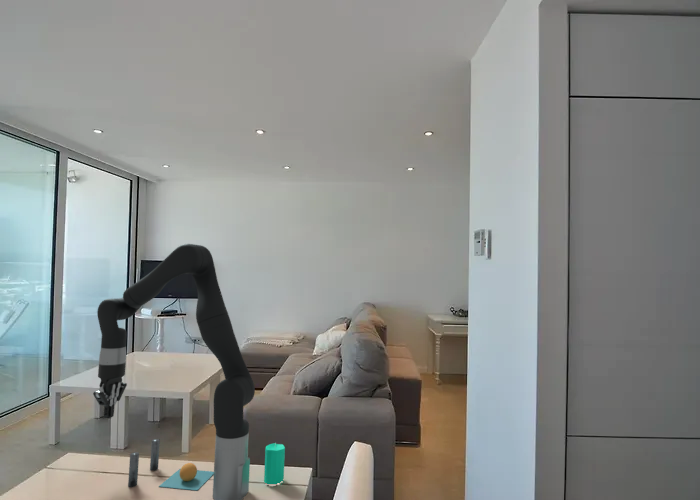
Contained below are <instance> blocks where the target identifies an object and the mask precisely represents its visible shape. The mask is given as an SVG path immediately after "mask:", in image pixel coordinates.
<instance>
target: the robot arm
mask: <svg viewBox="0 0 700 500" xmlns="http://www.w3.org/2000/svg"><path fill="white" fill-rule="evenodd" d="M183 275H191V276H192V277H193V281H194V283H195V286H196V290H197V302H196V307H195V308H196V310H195V319H196V323H197V327H198V330H199V332H200V336H201V339H202V341H203V343H204V344H205V345H206V347H207V348H208V349H209V351H210V352H211V353H212V354H213V355H214V356H215V357H216V359H217V360H218V362H219V364H220V366H221V369H222V372H223V374H224V378H225V379H223V380H221V381H220V382H218V384H217V385H216V387H215V390H214V393H213V424H214V428H215V441H214V442H215V443H214V444H215V446H214V463H213V472H214V474H213V479H212V480H213V481H212V482H213V483H212V499H213V500H243V499H244V498H245V497H246V495H247V493H249V490H250V489H249V488H250V487H249V486H250V469H251V468H250V466H251V458H250V457H248V455H249V434H250V433H249V431H250V423H249V421H248V420H246V419H244V407H245V406H247V405H248V404H250V402H251V401H253V399H254V396H255V391H256V389H255V388H256V387H255V384H254V380H253V377H252V375H251V374H250V371H249V370H248V367H247V364H246V363H245V360H244V358H243V355H242V352H241V349H240V346H239V343H238V339H237V338H236V334H235V331H234V329H233V325H232V321H231V318H230V315H229V311H228V309H227V307H226V304H225V301H224V298H223V294H222V291H221V287H220V286H219V285H220V284H219V281H218V277H217V272H216V268H215V262H214V258H213V256H212V253H211V251H210V250H209V248H207V247H205V246H204V245H201V244H200V245H199V244H194V243H184V244H180V245H178V246H177V247H176V248H175V249H174V250H173V251H172V252H171V253H170V254H169V255H167V256H166V258H165V259H163V260H162V261H161V262H160V263H159V264H158V265H157V266H156V267H155V268H154V269H153V270H151V271H150V272H149V273H147V274H146V275H145V276H144V277H142V278H141V279H140V280H138V281H136V282H134V283H133V284H131V285H130V286H129V287H128V288H126V289H125V290H124V292H123V294H122V297H119V298H106V299H104V300H102V301H101V302H100V303H99V305H98V307H97V311H96V313H97V321H98V324H99V328H100V329H99V330H100V332H101V340H100V341H101V342H100V343H101V344H100V350H99V358H98V370H97V373H98V374H97V377H98V378H99V379H100V383H99V388H98V389H97V390H96V391H93V394H92V395H93V397H94V398H95V400H96V401H97V403H98V405H99V406H103V410H104V411H103V417H104V419H112V418H114V415H115V406H116V404H117V402H119V401H120V400H121V398H122V396H123V394H124V392H125V390H126V387H127V386H128V383H126V382H123V377H125V375H126V364H127V337H128V336H127V334H128V333H127V330H126V328H123V327H119V324H118V321H124V320H126V319H127V320H128V319H129V318H131V317H132V316H134V315H135V314H136V313H137V312H138V311H139V310H140V309H141V307H143V306H144V305H145V304H147V303H149V302H150V301H151V300H153V299H155V297H157V296H158V295H159V294H160V293H161V292H162V290H163V289H164V288H165V286H166V285H167V284H168V283H170V282H171V281H172V280H174V279H176V278H177V277H180V276H183Z"/></svg>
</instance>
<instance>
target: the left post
mask: <svg viewBox="0 0 700 500" xmlns="http://www.w3.org/2000/svg"><path fill="white" fill-rule="evenodd" d="M139 461H140V452H139V451H135V452H131V453H130V454H129V467H128V481H127V482H128V483H127V486H128V488H135V487H136V486H138V478H139V477H138V475H139Z"/></svg>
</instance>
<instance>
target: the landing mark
mask: <svg viewBox="0 0 700 500" xmlns="http://www.w3.org/2000/svg"><path fill="white" fill-rule="evenodd" d="M180 469H181V468H178V470H176V471H175V472H174V473H173V474H172V475H171V476H169V477H168V478H167V479H165V480H164V481H163V482H162V483H161V484H160V485H158V488H167V489H177V490H184V491H185V490H186V491H194V492H195V491H197V492H198V491H199V490H200V489H201V488H202V487H203V486H204V485H205V484H206V483H207V482H208V481H209V480H210V479H211V478H212V477H213V476H214V471H209V470H198V469H197V474H196V476H195V478H194V479H192V480H191V481H183V480H182V479H181V478H180Z"/></svg>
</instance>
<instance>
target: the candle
mask: <svg viewBox="0 0 700 500" xmlns="http://www.w3.org/2000/svg"><path fill="white" fill-rule="evenodd" d="M285 451H286V447H285V445H284V444H282V443H277V442H276V441H275V443H270V444H267V445H266V446H265V450H264V454H265V456H264V470H263V471H264V473H263V474H264V475H263V477H264V478H263V483H264V482H265V483H267V484H277V483H280V482H281V481H283V479H284V480H285V476H284V475H285V455H286V452H285ZM283 482H284V481H283Z"/></svg>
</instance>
